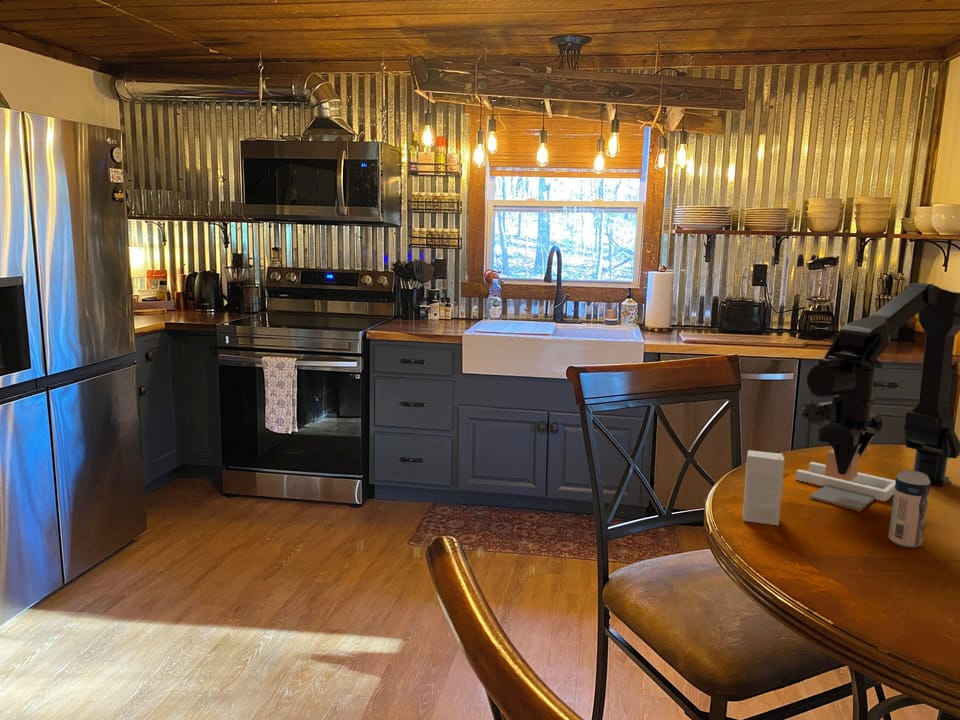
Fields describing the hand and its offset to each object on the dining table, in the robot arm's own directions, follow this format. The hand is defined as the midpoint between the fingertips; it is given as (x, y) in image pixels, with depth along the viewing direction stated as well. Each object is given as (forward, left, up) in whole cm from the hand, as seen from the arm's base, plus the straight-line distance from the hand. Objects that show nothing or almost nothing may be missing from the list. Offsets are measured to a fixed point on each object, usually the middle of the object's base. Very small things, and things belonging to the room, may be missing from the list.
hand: (845, 471), depth 137 cm
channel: (-9, -3, -6) cm, 11 cm away
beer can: (+14, +14, -6) cm, 21 cm away
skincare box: (+22, -7, -6) cm, 24 cm away
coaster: (0, 0, -6) cm, 6 cm away
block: (0, -1, -1) cm, 1 cm away
